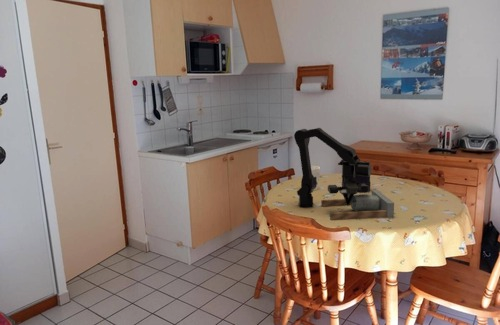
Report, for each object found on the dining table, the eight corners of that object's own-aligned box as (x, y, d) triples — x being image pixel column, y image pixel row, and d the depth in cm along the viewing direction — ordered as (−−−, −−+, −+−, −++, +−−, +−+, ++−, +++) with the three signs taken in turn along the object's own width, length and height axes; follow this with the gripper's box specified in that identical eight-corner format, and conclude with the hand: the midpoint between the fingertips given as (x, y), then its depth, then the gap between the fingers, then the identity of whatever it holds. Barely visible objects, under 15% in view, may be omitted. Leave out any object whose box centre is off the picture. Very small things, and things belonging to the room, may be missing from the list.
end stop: (387, 217, 177) (387, 203, 175) (371, 202, 198) (371, 189, 197) (393, 217, 177) (394, 202, 175) (377, 202, 198) (377, 189, 197)
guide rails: (330, 219, 177) (330, 213, 176) (321, 205, 197) (321, 200, 197) (386, 217, 177) (387, 211, 177) (371, 203, 198) (371, 197, 197)
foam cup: (321, 190, 223) (321, 169, 221) (305, 191, 224) (305, 169, 221) (318, 186, 233) (318, 165, 230) (303, 186, 233) (303, 166, 230)
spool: (349, 207, 182) (354, 187, 184) (347, 210, 191) (352, 191, 193) (378, 215, 179) (383, 195, 181) (375, 218, 188) (379, 198, 190)
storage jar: (368, 188, 225) (369, 163, 222) (372, 192, 215) (372, 166, 212) (351, 188, 226) (351, 163, 223) (354, 193, 216) (354, 167, 213)
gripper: (332, 179, 175) (332, 211, 179) (373, 177, 176) (372, 210, 179) (327, 173, 186) (327, 204, 190) (365, 172, 187) (364, 202, 190)
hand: (347, 205), depth 187 cm, fingers closed
